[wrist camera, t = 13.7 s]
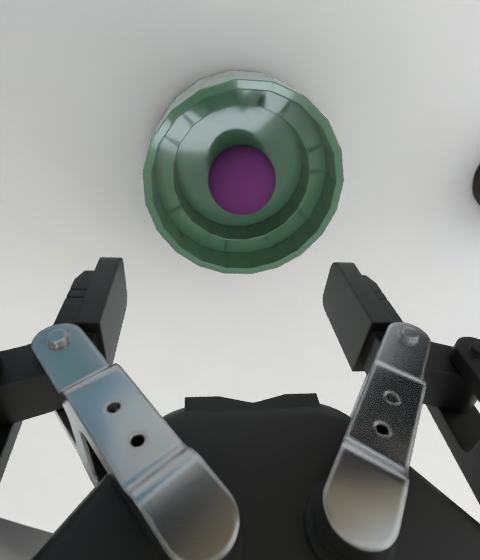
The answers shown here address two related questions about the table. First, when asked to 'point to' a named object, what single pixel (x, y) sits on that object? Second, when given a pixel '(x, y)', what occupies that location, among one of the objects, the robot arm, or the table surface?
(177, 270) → the table surface
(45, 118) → the table surface
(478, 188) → the container
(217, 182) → the ball
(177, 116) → the bowl
